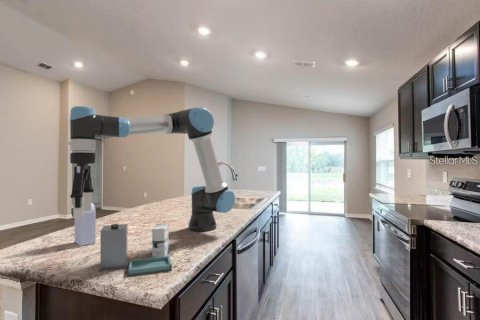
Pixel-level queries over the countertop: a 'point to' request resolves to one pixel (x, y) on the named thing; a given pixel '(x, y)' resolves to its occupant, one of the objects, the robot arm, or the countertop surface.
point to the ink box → (160, 240)
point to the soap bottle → (86, 227)
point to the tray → (150, 265)
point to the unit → (114, 247)
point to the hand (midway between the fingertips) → (82, 213)
